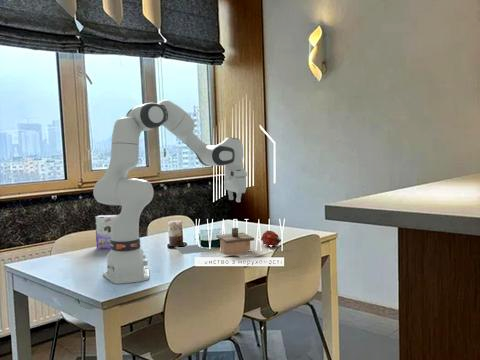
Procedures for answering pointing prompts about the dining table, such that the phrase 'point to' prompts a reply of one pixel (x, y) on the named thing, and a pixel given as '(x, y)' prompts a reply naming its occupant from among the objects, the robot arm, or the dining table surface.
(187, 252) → the mat
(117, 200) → the robot arm
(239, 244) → the bowl
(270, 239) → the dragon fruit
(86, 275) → the dining table surface
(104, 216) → the candy box
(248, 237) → the lid
